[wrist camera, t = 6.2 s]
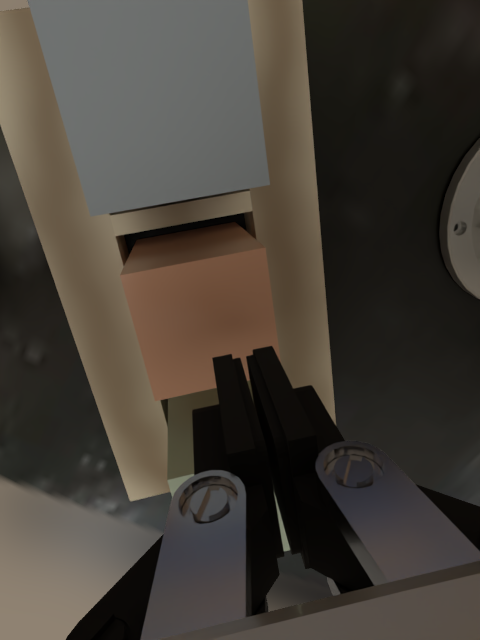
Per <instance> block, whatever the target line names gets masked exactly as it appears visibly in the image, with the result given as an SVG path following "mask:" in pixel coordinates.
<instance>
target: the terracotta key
mask: <svg viewBox="0 0 480 640" xmlns="http://www.w3.org/2000/svg"><path fill="white" fill-rule="evenodd" d="M120 278H121V281H122V285H123V288H124V292H125V296H126V299H127V303H128V306H129V310H130V314H131V317H132V321H133V324H134V328H135V331H136V335H137V339H138V342H139V346H140V349H141V353H142V356H143V360H144V364H145V367H146V371H147V374H148V378H149V382H150V385H151V389H152V392H153V396H154V399H155V401H159V400H164V399H168V398H173V397H177V396H182V395H186V394H191V393H195V392H200V391H204V390H208V389H213V388H217V386H216V380H215V373H214V366H213V360H212V358H213V357H218V356H223V355H228V354H232V358H233V359H235V358H241V362H242V365H243V369H244V372H245V375H246V379H247V381H249V380H250V378H249V372H248V366H247V360H246V356H249V355H253V349H258V348H263V347H268V346H273V348H274V350H275V352H276V354H277V356H278V358H279V360H280V353H279V345H278V338H277V330H276V323H275V315H274V308H273V300H272V293H271V285H270V278H269V270H268V263H267V255H266V248H265V247H264V246H263V245H262V244H261V243H260V242H258V241H257V240H256V239H255V238H254V237H252V236H251V235H250V234H249V233H248V232H246V231H245V230H244V229H243V228H242V227H240V226H239V225H238V224H237V223H236V222H231V223H225V224H220V225H215V226H209V227H204V228H198V229H193V230H187V231H182V232H177V233H171V234H166V235H160V236H155V237H150V238H144V239H139V240H136V242H135V244H134V247H133V249H132V251H131V253H130V255H129V257H128V259H127V261H126V263H125V266H124V268H123V270H122V272H121V274H120ZM280 362H281V360H280Z"/></svg>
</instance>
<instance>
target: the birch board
mask: <svg viewBox="0 0 480 640" xmlns="http://www.w3.org/2000/svg"><path fill="white" fill-rule="evenodd" d="M248 8H249V16H250V24H251V32H252V41H253V49H254V57H255V65H256V74H257V82H258V90H259V98H260V106H261V115H262V123H263V131H264V139H265V147H266V156H267V164H268V172H269V180H270V185H266V186H261V187H255V188H249V189H244V190H238V191H232V192H227V193H221V194H215V195H210V196H204V197H199V198H193V199H187V200H182V201H176V202H170V203H165V204H159V205H153V206H148V207H142V208H136V209H131V210H125V211H120V212H114V213H108V214H103V215H97V216H91V217H90V213H89V210H88V206H87V203H86V199H85V196H84V192H83V189H82V186H81V182H80V179H79V175H78V172H77V168H76V165H75V162H74V158H73V155H72V151H71V148H70V144H69V141H68V138H67V134H66V131H65V127H64V124H63V120H62V117H61V113H60V110H59V107H58V103H57V100H56V96H55V93H54V89H53V86H52V83H51V79H50V76H49V72H48V69H47V65H46V62H45V59H44V55H43V52H42V48H41V45H40V41H39V38H38V34H37V31H36V28H35V24H34V21H33V17H32V14H31V10H30V8H23V9H14V10H6V11H0V125H1V128H2V131H3V134H4V137H5V140H6V143H7V145H8V148H9V151H10V154H11V157H12V160H13V163H14V166H15V169H16V172H17V174H18V177H19V180H20V183H21V186H22V189H23V192H24V195H25V198H26V201H27V203H28V206H29V209H30V212H31V215H32V218H33V221H34V224H35V227H36V229H37V232H38V235H39V238H40V241H41V244H42V247H43V250H44V253H45V256H46V258H47V261H48V264H49V267H50V270H51V273H52V276H53V279H54V282H55V285H56V287H57V290H58V293H59V296H60V299H61V302H62V305H63V308H64V311H65V314H66V316H67V319H68V322H69V325H70V328H71V331H72V334H73V337H74V340H75V343H76V345H77V348H78V351H79V354H80V357H81V360H82V363H83V366H84V369H85V371H86V374H87V377H88V380H89V383H90V386H91V389H92V392H93V395H94V398H95V400H96V403H97V406H98V409H99V412H100V415H101V418H102V421H103V424H104V427H105V429H106V432H107V435H108V438H109V441H110V444H111V447H112V450H113V453H114V456H115V458H116V461H117V464H118V467H119V470H120V473H121V476H122V479H123V482H124V484H125V487H126V490H127V493H128V496H129V499H130V501H134V500H138V499H142V498H146V497H150V496H154V495H159V494H163V493H167V492H171V491H170V488H169V484H168V481H167V456H168V399H164V400H159V401H155V399H154V396H153V392H152V389H151V385H150V382H149V378H148V374H147V371H146V367H145V364H144V360H143V356H142V353H141V349H140V346H139V342H138V339H137V335H136V331H135V328H134V324H133V321H132V317H131V314H130V310H129V306H128V303H127V299H126V296H125V292H124V288H123V285H122V281H121V278H120V274H121V272H122V270H123V268H124V266H125V263H126V261H127V259H128V257H129V252H128V248H127V244H126V241H125V237H124V235H125V234H130V233H136V232H141V231H147V230H152V229H157V228H163V227H168V226H174V225H179V224H185V223H190V222H196V221H201V220H207V219H212V218H218V217H223V216H229V215H234V214H240V213H244V217H245V224H246V231H247V232H248V233H249V234H250V235H251V236H252V237H254V238H255V239H256V240H257V241H258V242H260V243H261V244H262V245H263V246H264V247H265V248H266V255H267V263H268V270H269V278H270V285H271V293H272V300H273V308H274V315H275V323H276V330H277V338H278V345H279V353H280V360H281V365H282V367H283V369H284V371H285V373H286V375H287V377H288V379H289V381H290V383H291V385H292V387H293V389H294V388H298V387H303V386H308V385H312V386H313V388H314V389H315V391H316V393H317V394H318V396H319V398H320V399H321V401H322V403H323V405H324V406H325V408H326V410H327V411H328V413H329V415H330V416H331V418H332V420H333V422H334V423H335V425H336V418H335V406H334V393H333V381H332V368H331V356H330V343H329V331H328V318H327V306H326V293H325V281H324V268H323V256H322V243H321V231H320V218H319V206H318V193H317V181H316V168H315V156H314V143H313V131H312V118H311V105H310V93H309V80H308V68H307V55H306V43H305V30H304V18H303V5H302V0H248Z"/></svg>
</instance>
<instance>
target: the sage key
mask: <svg viewBox="0 0 480 640" xmlns="http://www.w3.org/2000/svg"><path fill="white" fill-rule="evenodd" d="M247 382H248V385H249V389H250V392H251V396H252V399H253V395H252V390H251V384H250V380H249V381H247ZM253 402H254V401H253ZM217 404H219V400H218V393H217V388H213V389H208V390H204V391H200V392H195V393H191V394H186V395H182V396H177V397H173V398H168V456H167V481H168V484H169V488H170V491H171V495H172V498H173V495H174V493H175V491H176V490H177V489H178V488H179V486H180V485H181V484H182V483H184V482H185V481H186V480H187V479H189V478H190V477H192V476H194V453H193V425H192V410H193V409H198V408H203V407H207V406H212V405H217ZM274 495H275V493H274ZM275 501H276V507H277V513H278V519H279V526H280V532H281V538H282V544H283V550H284V551H288V550H290V547H289V543H288V540H287V536H286V532H285V529H284V525H283V522H282V518H281V514H280V511H279V507H278V504H277V500H276V497H275Z"/></svg>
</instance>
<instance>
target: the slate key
mask: <svg viewBox="0 0 480 640" xmlns="http://www.w3.org/2000/svg"><path fill="white" fill-rule="evenodd" d="M28 4H29V6H30V10H31V14H32V17H33V21H34V24H35V28H36V31H37V34H38V38H39V41H40V45H41V48H42V52H43V55H44V59H45V62H46V65H47V69H48V72H49V76H50V79H51V83H52V86H53V89H54V93H55V96H56V100H57V103H58V107H59V110H60V113H61V117H62V120H63V124H64V127H65V131H66V134H67V138H68V141H69V144H70V148H71V151H72V155H73V158H74V162H75V165H76V168H77V172H78V175H79V179H80V182H81V186H82V189H83V192H84V196H85V199H86V203H87V206H88V210H89V213H90V217H91V216H97V215H103V214H108V213H114V212H120V211H125V210H131V209H136V208H142V207H148V206H153V205H159V204H165V203H170V202H176V201H182V200H187V199H193V198H199V197H204V196H210V195H215V194H221V193H227V192H232V191H238V190H244V189H249V188H255V187H261V186H266V185H270V180H269V172H268V164H267V156H266V147H265V139H264V131H263V123H262V115H261V106H260V98H259V90H258V82H257V74H256V65H255V57H254V49H253V41H252V32H251V24H250V16H249V8H248V0H28Z"/></svg>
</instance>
